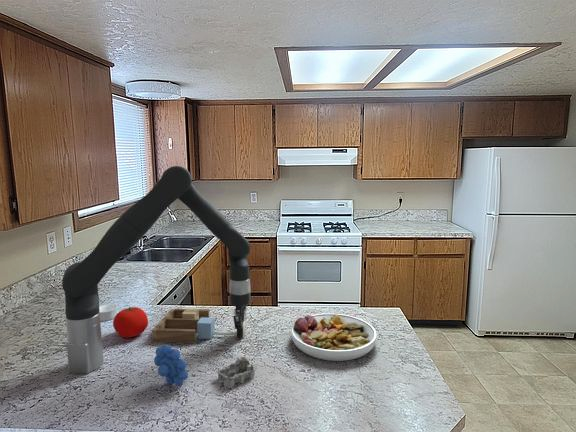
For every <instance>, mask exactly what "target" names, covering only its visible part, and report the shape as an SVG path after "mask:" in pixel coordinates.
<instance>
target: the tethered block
mask: <svg viewBox="0 0 576 432" xmlns="http://www.w3.org/2000/svg"><path fill="white" fill-rule="evenodd" d="M245 321H246V320H245ZM245 321H244V322H243V338H242V339H244V338H245V337H246V322H245ZM215 328H216V327H215V318H214V317H209V318H203V317H201V318H200V320H199V321H198V323H197V331H196V334H197V339H201V340H203V339H204V340H211V339H213V336H237V331H236V332H232V331H231V332H230V331H229V332H228V331H227V332H225V331H216V329H215Z"/></svg>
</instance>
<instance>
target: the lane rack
mask: <svg viewBox="0 0 576 432" xmlns="http://www.w3.org/2000/svg"><path fill="white" fill-rule="evenodd" d="M185 309H186V308H171V309H170V310H169V311H168V312H166V314H165V315H164V317H162V318H161V320H160V321H158V323H157V324H156V325H155V326H154V327H153V328H152V329H151V338H152V339H151V341H152V343H177V344H179V343H181V344H183V343H184V344H185V343H186V344H195V343H196V342H197V323H198V321H199V320H200V318H201V317H203V318H210V309H207V308H202V309H201V308H198V309H199V319H182V313H183V312H184V311H185Z"/></svg>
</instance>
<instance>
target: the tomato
mask: <svg viewBox="0 0 576 432" xmlns="http://www.w3.org/2000/svg"><path fill="white" fill-rule="evenodd" d="M148 318H149V317H148V315H147V313H146V312H145V311H144V309H141V308H140V307H137V306H132V307H131V306H129V307H126V308H124V309H121V310H119V312H117V314H116V316H115V318H114V319H112V321H113V322H112V326H113V329H114V331H115V332H116V334H117V335H119V336H120V337H122V338H127V339H129V338H133V337H136V336H139V335H141V334H143V332H145V330H146V329H147V327H148V326H149V319H148Z"/></svg>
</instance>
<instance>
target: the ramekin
mask: <svg viewBox="0 0 576 432" xmlns="http://www.w3.org/2000/svg"><path fill="white" fill-rule="evenodd" d="M118 307H119V306H118V304H114V303H113V304H112V303H111V304H110V303H108V304H102V305H99V312H100V322H107V321H109V322H110V321H113V320H114V318H115V316H116V314H117V313H118Z"/></svg>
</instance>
